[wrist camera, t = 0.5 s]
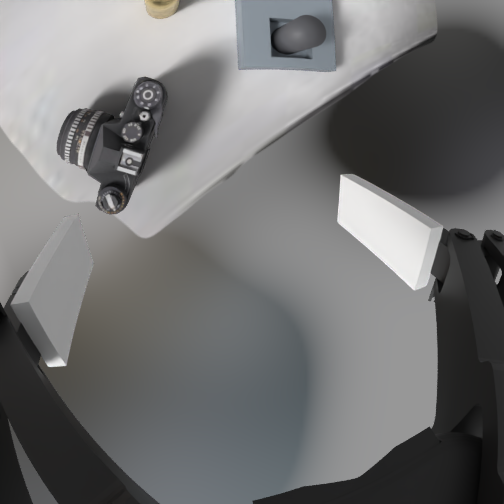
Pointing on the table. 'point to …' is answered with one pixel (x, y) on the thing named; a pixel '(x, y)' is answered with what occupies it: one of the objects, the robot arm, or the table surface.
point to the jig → (285, 35)
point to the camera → (114, 143)
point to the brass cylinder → (161, 8)
